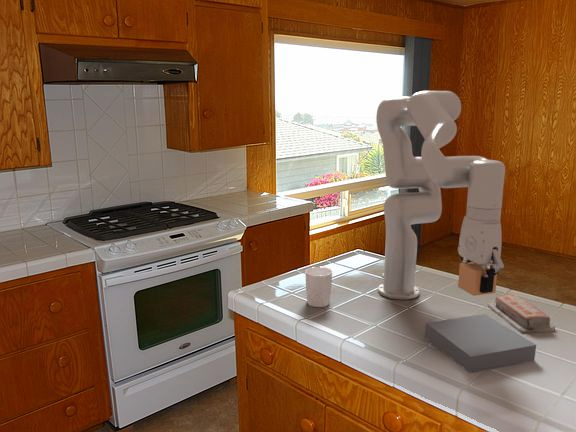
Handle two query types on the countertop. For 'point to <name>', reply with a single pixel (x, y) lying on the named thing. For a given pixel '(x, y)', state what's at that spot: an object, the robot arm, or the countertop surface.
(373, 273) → the countertop surface
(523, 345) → the plinth
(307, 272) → the white cup
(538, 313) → the packaged product
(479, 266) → the cube
